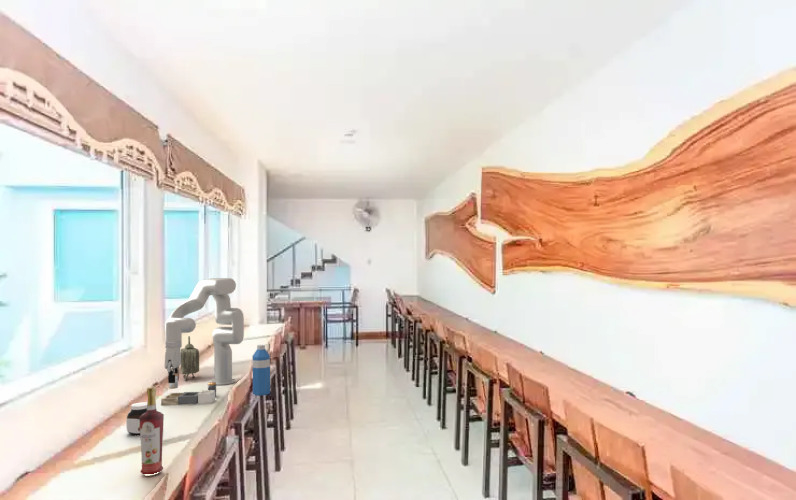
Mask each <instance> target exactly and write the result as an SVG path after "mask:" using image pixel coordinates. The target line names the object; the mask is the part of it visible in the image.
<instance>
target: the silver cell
mask: <svg viewBox="0 0 796 500" xmlns="http://www.w3.org/2000/svg"><path fill="white" fill-rule="evenodd" d="M174 375H175V383H168V388H169V390H170V389H171V390H172V389H173V390H175V389H178V388H179V381H178V373H175V374H174Z"/></svg>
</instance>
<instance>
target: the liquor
mask: <svg viewBox="0 0 796 500" xmlns="http://www.w3.org/2000/svg"><path fill="white" fill-rule="evenodd" d="M146 394H147V395H146V396H147V402H148V403H147V412H146V413H144V414H142V415H141V416H140V417H139V420H140V435H139V438H140V448H141V449H140V450H141V469H140V473H141V474H142V475H143V474H154V473H157V472H160V471H161V472H162V471H163V470H164V466H163V465H162V464H163V439H164V438H163V437H164V418H165V417H164V415H165V414H164V413H162V412H161V411H158V409H157V403H156V402H157V399H156V395H157V387H155V386H151V387H147V388H146ZM161 472H160V473H161Z"/></svg>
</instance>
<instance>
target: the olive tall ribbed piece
mask: <svg viewBox="0 0 796 500" xmlns="http://www.w3.org/2000/svg"><path fill="white" fill-rule="evenodd" d="M187 339H188V340H187V342H188V343H187V344H186V345H185V346H184V348H183V347H182V348H180V350H181V365H180V372H181V374H182V378H184V381H185V382H187V381H188V377H189V375H190V374H191V375H192V377H191V378H192V379H193V378H194V379H195V378H196V376H195V375H194V374H197V373H199V372H200V351H199V349H198V348H197V347H194V345H193V344H192V343H191V337H190V336H188V337H187Z"/></svg>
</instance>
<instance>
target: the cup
mask: <svg viewBox="0 0 796 500" xmlns="http://www.w3.org/2000/svg"><path fill="white" fill-rule="evenodd" d="M198 392H199V393H198V403H197V405H202V404H203V405H211V404H213V403H214V402H215V401H216V397H215V390H208V389H207V390H200V391H198Z"/></svg>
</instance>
